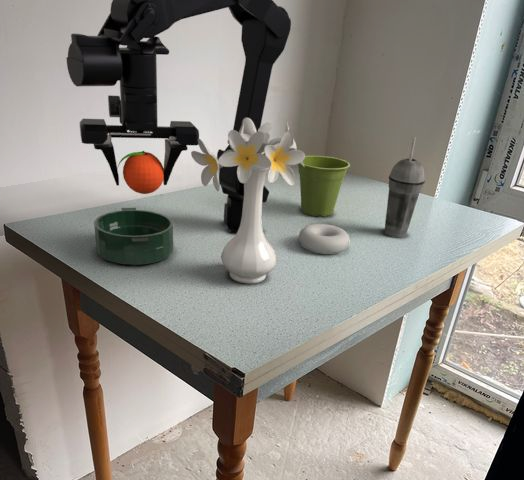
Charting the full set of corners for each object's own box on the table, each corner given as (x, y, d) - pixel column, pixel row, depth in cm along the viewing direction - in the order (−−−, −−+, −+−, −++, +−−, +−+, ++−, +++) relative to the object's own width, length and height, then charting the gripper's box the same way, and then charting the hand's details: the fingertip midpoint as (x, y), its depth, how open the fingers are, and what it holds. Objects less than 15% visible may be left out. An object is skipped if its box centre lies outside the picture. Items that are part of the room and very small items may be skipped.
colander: (166, 236, 108) (165, 208, 105) (179, 265, 97) (179, 235, 95) (94, 239, 104) (91, 210, 101) (99, 269, 93) (97, 238, 91)
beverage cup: (415, 232, 121) (437, 135, 111) (408, 242, 116) (431, 141, 105) (382, 225, 124) (401, 130, 113) (374, 234, 118) (393, 135, 107)
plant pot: (345, 208, 132) (353, 159, 126) (338, 224, 122) (346, 171, 116) (296, 200, 134) (301, 152, 128) (285, 215, 124) (291, 163, 118)
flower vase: (179, 279, 93) (179, 118, 79) (256, 253, 105) (267, 109, 91) (234, 308, 86) (244, 137, 72) (310, 277, 97) (330, 125, 84)
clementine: (125, 201, 93) (123, 157, 89) (112, 189, 98) (109, 147, 94) (170, 197, 97) (170, 155, 93) (155, 186, 102) (155, 145, 98)
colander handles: (135, 211, 105) (135, 207, 105) (148, 244, 92) (148, 240, 92) (121, 211, 104) (121, 207, 104) (132, 245, 91) (132, 241, 91)
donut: (342, 261, 105) (352, 243, 113) (345, 244, 103) (355, 226, 111) (291, 251, 107) (305, 233, 115) (293, 234, 105) (307, 217, 113)
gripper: (187, 81, 97) (186, 171, 106) (74, 75, 92) (82, 171, 100) (200, 91, 89) (198, 189, 97) (77, 85, 83) (86, 190, 91)
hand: (141, 184), depth 96 cm, fingers closed on clementine, 8 cm apart
